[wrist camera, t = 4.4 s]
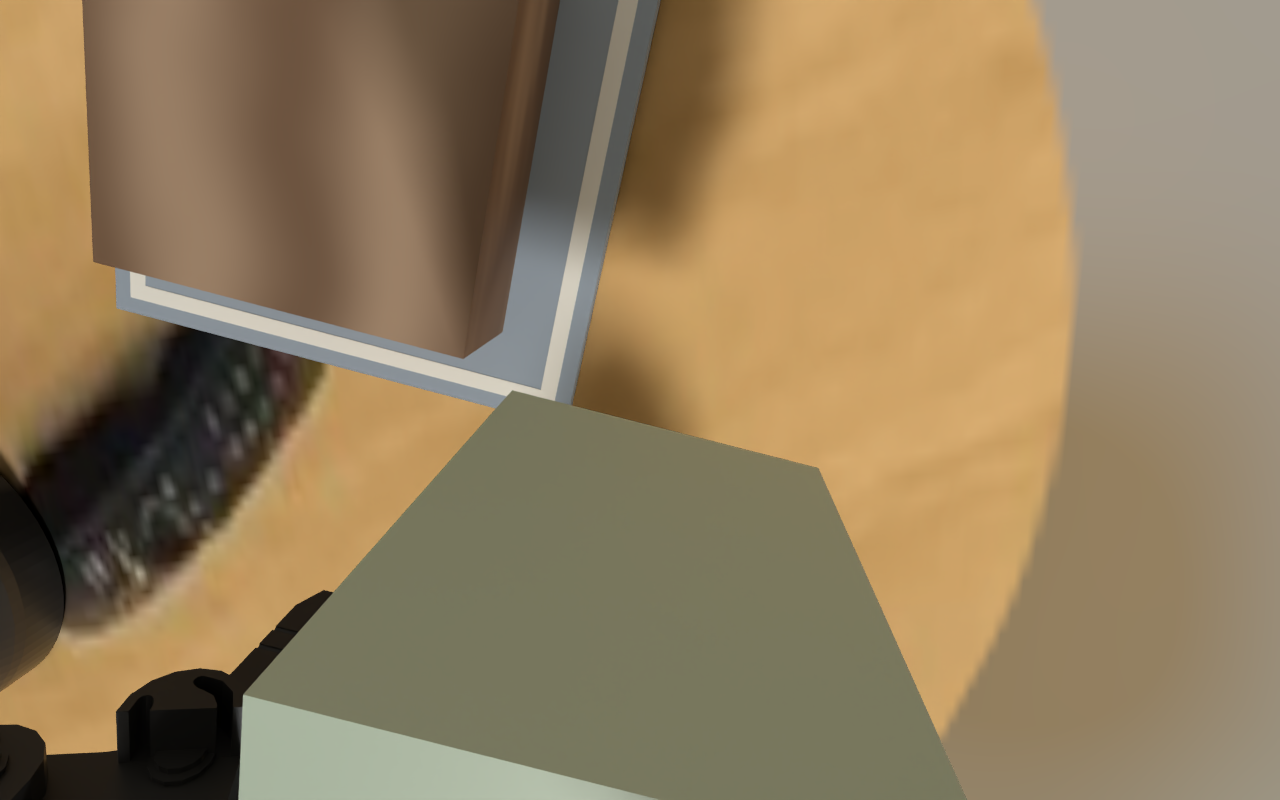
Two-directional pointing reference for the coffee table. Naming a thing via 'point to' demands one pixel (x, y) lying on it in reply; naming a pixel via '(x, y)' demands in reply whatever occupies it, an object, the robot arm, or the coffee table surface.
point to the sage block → (598, 637)
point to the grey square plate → (547, 248)
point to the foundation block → (320, 154)
